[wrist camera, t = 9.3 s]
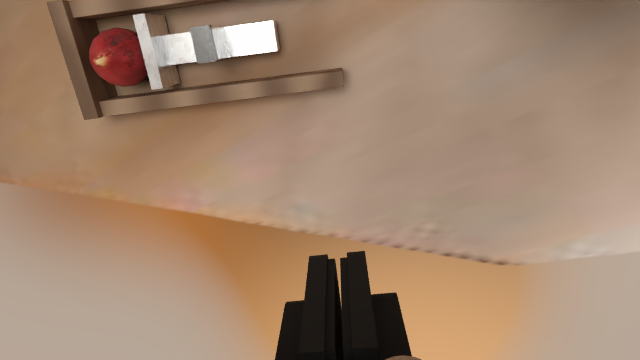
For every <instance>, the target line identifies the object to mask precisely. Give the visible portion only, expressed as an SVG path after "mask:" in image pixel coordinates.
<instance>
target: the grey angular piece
mask: <svg viewBox="0 0 640 360" xmlns="http://www.w3.org/2000/svg"><path fill="white" fill-rule="evenodd" d="M133 19H134V23H135V27H136V31H137V34H138V38H139V42H140V46H141V50H142V54H143V58H144V61H145V65H146V69H147V73H148V77H149V81H150V85H151V88H152V90H153V89H161V88H165V87H168V86H172V85H175V84H178V83H180V79H179V75H178V71H177V67H176V64H182V63H190V62H197V64H200V63H208V62H216V61H218V60H219V59H224V58H228V57H236V56H243V55H251V54H258V53H266V52H273V51H279V50H280V44H279V37H278V31H277V24H276V21H266V22H259V23H251V24H244V25H237V26H230V27H211V25H205V26H198V27H191V28H190V32H186V33H179V34H171V35H169V33H168V28H167V24H166V20H165V16H163V15H154V14H145V13H144V14H137V15H133Z"/></svg>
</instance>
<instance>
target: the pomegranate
mask: <svg viewBox="0 0 640 360" xmlns="http://www.w3.org/2000/svg"><path fill="white" fill-rule="evenodd" d="M89 60H90V62H91V65H92V67H93V69H94V70H95V71H96V73H97V74H98V75H99V76H100V77H101V78H103V79H104V80H106V81H107V82H109V83H111V84H115V85H119V86H131V85H137V84H138V83H139V82H141V81H142V80H143V79H144V78H146V77H147V75H148V73H147V69H146V65H145V61H144V58H143V54H142V50H141V46H140V42H139V38H138V34H136V33H135V32H133V31H131V30H127V29H122V28H112V29H109V30H106V31H103V32H101V33H100V34H99V35H98V36H97V37H95V38H94V39H93V41H92V44H91V47H90V49H89Z"/></svg>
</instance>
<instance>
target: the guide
mask: <svg viewBox="0 0 640 360" xmlns="http://www.w3.org/2000/svg"><path fill="white" fill-rule="evenodd" d="M220 1H227V0H70V1H67V0H58V1H51V2H47V5H48V9H49V12H50V15H51V18H52V21H53V24H54V27H55V30H56V33H57V37H58V40H59V43H60V46H61V49H62V52H63V55H64V58H65V61H66V65H67V68H68V71H69V74H70V77H71V80H72V83H73V86H74V89H75V93H76V96H77V99H78V102H79V105H80V108H81V111H82V114H83V117H84V120H87V119H96V118H100V117H103V116H110V115H119V114H127V113H135V112H143V111H151V110H159V109H167V108H175V107H183V106H191V105H199V104H207V103H215V102H223V101H232V100H240V99H248V98H256V97H264V96H272V95H280V94H288V93H296V92H304V91H312V90H320V89H328V88H336V87H344V83H343V73H342V68H337V69H329V70H321V71H314V72H306V73H298V74H290V75H282V76H274V77H266V78H259V79H251V80H243V81H235V82H227V83H219V84H211V85H204V86H196V87H188V88H180V89H172V90H164V91H156V92H149V93H141V94H133V95H125V96H117V93H116V89H115V86H114V84H111V83H109V82H107V81H106V80H104V79H103V78H101V77H100V76H99V75H98V74H97V73H96V71H95V70H94V69H93V67H92V65H91V62H90V60H89V49H90V47H91V44H92V41H93V39H94V38H95V37H97V36H98V35H99V30H98V27H97V23H96V20H95V19H100V18H107V17H114V16H121V15H128V14H135V13H142V12H149V11H156V10H163V9H170V8H177V7H184V6H192V5H199V4H206V3H213V2H220Z"/></svg>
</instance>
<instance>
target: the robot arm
mask: <svg viewBox="0 0 640 360" xmlns="http://www.w3.org/2000/svg"><path fill="white" fill-rule="evenodd" d="M340 262H341V263H340V266H341V302H342V309H341V302H340V294H339V286H338V280H337V279H338V278H337V270H336V263H335V259H328V255H317V256H310V257H309V263H308V273H307V281H306V290H305V299H304V300H303V301H291V302H286V304H285V308H284V313H283V319H282V324H281V330H280V335H279V341H278V346H277V352H276V357H275V360H421V359H418V358H416V357H412V355H411V351H410V347H409V343H408V338H407V334H406V330H405V326H404V322H403V318H402V314H401V309H400V305H399V301H398V297H397V294H396V293H385V294H373V295H371V292H370V285H369V278H368V271H367V264H366V257H365V251H359V252H349V253H347V258H340Z"/></svg>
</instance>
